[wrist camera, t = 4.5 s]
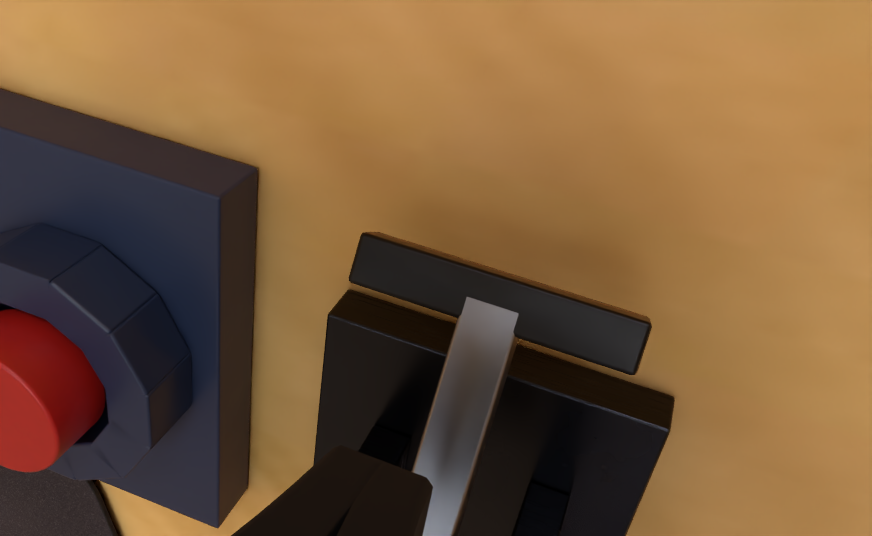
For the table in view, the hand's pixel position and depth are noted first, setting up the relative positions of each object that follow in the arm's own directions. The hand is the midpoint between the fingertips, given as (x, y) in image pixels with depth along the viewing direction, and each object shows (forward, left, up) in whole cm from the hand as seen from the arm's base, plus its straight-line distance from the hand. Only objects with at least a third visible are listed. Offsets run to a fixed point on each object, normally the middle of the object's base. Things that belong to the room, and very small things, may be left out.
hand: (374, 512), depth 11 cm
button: (-6, +10, -5) cm, 13 cm away
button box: (-6, +10, -8) cm, 14 cm away
